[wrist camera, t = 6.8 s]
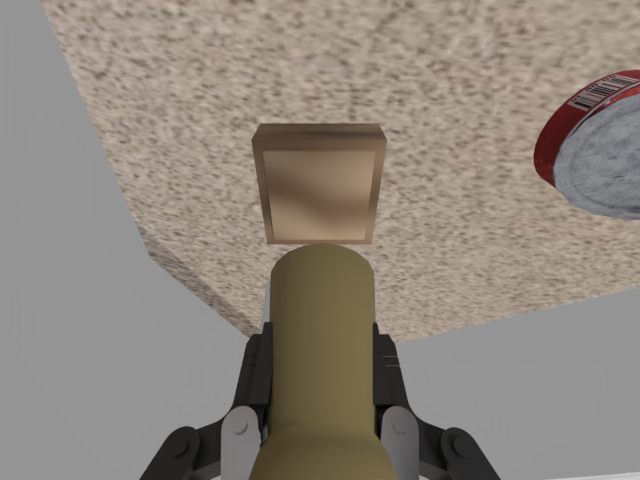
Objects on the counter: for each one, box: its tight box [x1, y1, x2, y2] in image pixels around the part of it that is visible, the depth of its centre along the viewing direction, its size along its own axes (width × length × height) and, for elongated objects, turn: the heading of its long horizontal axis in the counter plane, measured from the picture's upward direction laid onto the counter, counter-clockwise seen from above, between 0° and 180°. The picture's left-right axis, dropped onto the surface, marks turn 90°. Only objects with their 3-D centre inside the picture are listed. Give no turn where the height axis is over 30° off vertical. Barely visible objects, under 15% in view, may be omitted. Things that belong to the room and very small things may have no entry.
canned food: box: [533, 69, 640, 220], centre depth 22 cm, size 11×10×10 cm
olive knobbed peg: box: [249, 243, 398, 480], centre depth 12 cm, size 6×6×11 cm
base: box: [251, 123, 387, 245], centre depth 25 cm, size 10×10×4 cm
